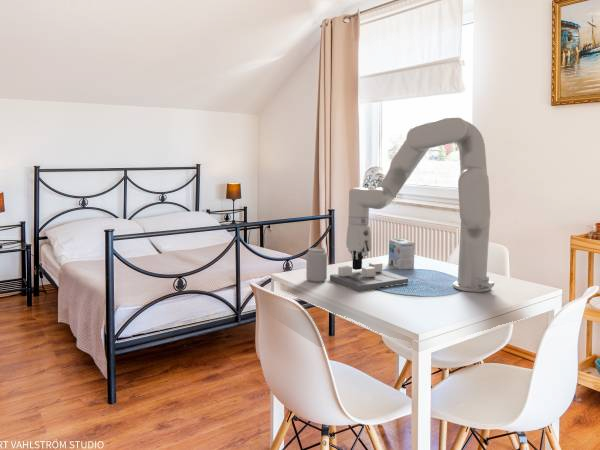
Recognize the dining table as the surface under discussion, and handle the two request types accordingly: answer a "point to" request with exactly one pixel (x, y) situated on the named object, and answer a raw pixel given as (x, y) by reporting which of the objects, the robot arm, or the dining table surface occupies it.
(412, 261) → the light bulb box
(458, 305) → the dining table surface
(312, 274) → the can
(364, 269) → the handle
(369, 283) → the breaker panel
